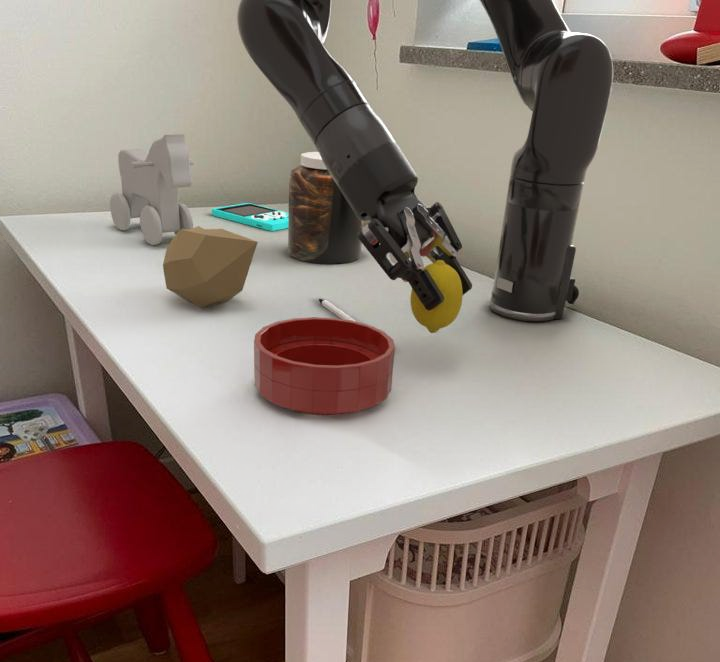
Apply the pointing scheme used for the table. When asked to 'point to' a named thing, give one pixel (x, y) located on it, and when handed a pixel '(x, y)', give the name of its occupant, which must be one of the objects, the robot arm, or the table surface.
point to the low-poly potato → (207, 265)
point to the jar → (320, 216)
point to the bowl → (323, 365)
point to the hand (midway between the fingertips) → (451, 298)
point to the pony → (154, 188)
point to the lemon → (452, 295)
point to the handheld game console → (254, 216)
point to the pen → (335, 310)
